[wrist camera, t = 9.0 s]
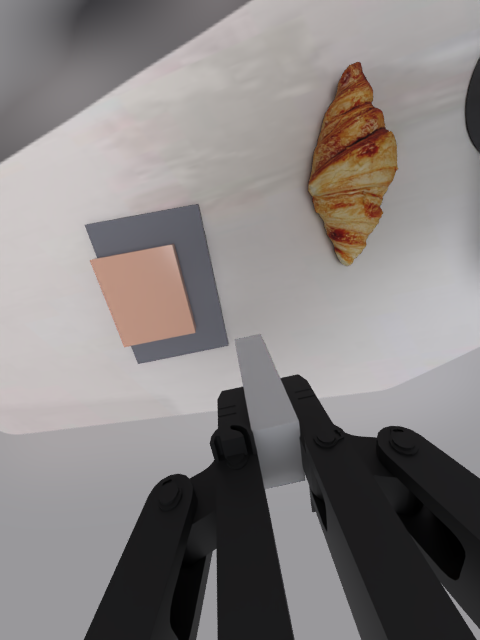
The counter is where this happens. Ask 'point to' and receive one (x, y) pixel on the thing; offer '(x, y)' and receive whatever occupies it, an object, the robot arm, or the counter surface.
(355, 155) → the croissant
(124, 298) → the block
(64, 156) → the counter surface
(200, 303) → the mat
